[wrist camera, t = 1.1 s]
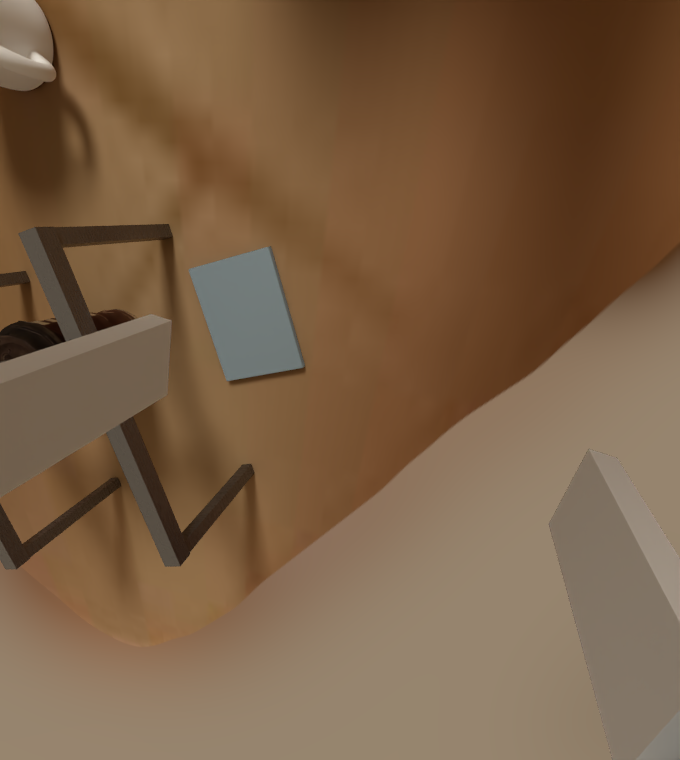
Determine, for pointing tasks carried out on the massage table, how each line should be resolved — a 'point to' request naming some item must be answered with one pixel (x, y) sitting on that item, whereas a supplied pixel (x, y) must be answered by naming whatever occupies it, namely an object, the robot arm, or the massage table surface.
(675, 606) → the robot arm
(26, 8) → the mug
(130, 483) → the frame
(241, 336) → the mat
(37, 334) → the coffee cup
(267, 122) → the massage table surface
